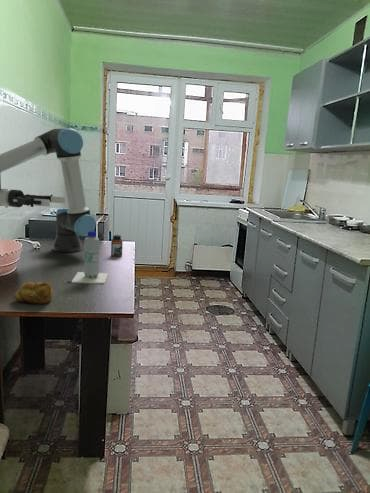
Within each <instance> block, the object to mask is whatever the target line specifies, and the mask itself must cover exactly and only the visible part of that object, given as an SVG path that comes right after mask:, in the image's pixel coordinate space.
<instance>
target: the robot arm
mask: <svg viewBox="0 0 370 493" xmlns="http://www.w3.org/2000/svg"><path fill="white" fill-rule="evenodd" d="M82 148H84V138H83V136H82V135H81V133H79V132H78V130H76V129H75V128H74V129H73V128H69V127H64V128H53V129H50V130H48V131H46V132H44V133H42V134H40V135H38V136H35V137H34V139H33V140H31V141H28V142H26V143H24V144H22V145H20V146H17V147H15V148H11V149H10V150H7V151H5V152H2V153H0V174H1V173H3V172H5V171H7V170H10V169H12V168H14V167H17V166H18V165H22V164H24V163H26V162H27V161H30V160H32V159H36V158H37V157H40V156H47V155H50V154H55V155H56V158H57V159H58V160H59V161H60V163H61V165H60V166H61V170H62V175H63V180H64V186H65V193H66V196H53V194H50V195H36V194H29V193H27V194H25V193H24V192H23V190H21V189H12V188H2V185H1V184H2V182H1V181H2V180H1V178H2V177H1V176H0V207H5V208H6V209H7V208H8V207H12V208H22V207H23V206H27V207H29V206H30V208H34V207H36V206H37V207H51V203H54V204H66V199H67V204H68V208H58V209H56V214H55V217H56V218H55V219H56V220H55V223H56V235H55V239H54V242H53V245H52V247H53V248H52V249H53V251H54V252H58V253H76V252H80V251H82V242H81V239H80V237H89V236H88V232H89V231H95V229H96V224H97V222H96V219H95V218H94V216H93V215H91V210H90V207H88V206H87V205H86V204H87V203H86V197H85V191H84V186H83V179H82V173H81V167H80V161H79V159H80V158H81V156H82V153H81V151H82Z"/></svg>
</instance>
